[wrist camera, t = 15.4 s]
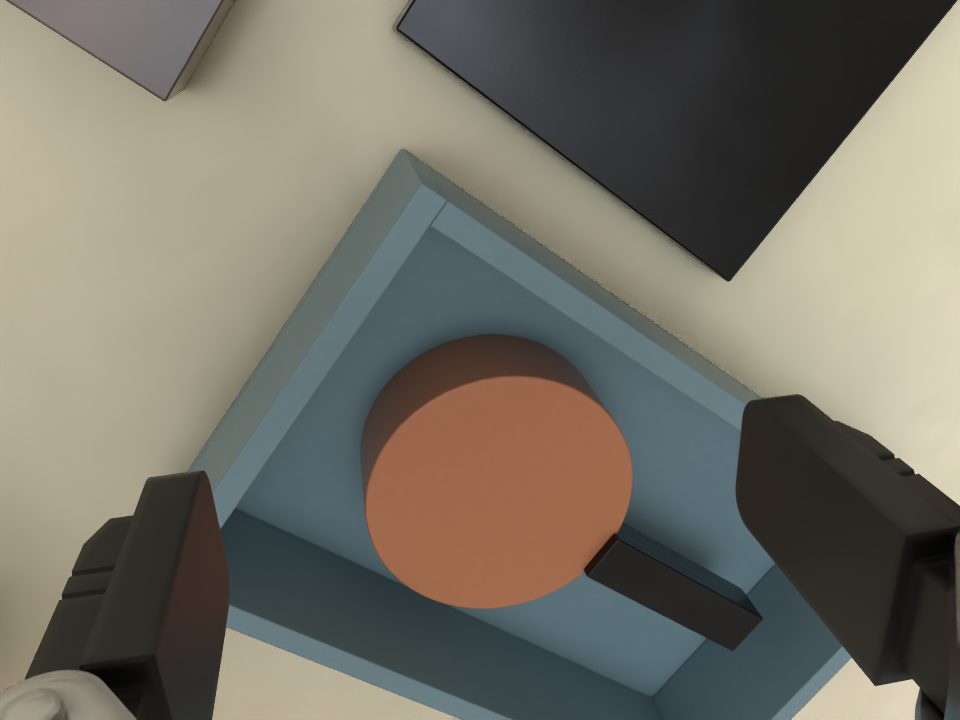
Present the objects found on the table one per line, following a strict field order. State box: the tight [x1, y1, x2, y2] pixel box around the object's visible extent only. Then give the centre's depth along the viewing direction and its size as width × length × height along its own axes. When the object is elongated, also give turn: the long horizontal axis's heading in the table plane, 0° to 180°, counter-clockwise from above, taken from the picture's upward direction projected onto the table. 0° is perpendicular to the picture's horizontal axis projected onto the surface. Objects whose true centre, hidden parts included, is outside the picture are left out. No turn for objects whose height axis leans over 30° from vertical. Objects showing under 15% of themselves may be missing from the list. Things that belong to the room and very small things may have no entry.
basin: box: [188, 149, 852, 720], centre depth 29 cm, size 24×15×6 cm, turn 54°
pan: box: [360, 335, 763, 651], centre depth 29 cm, size 16×9×4 cm, turn 54°
